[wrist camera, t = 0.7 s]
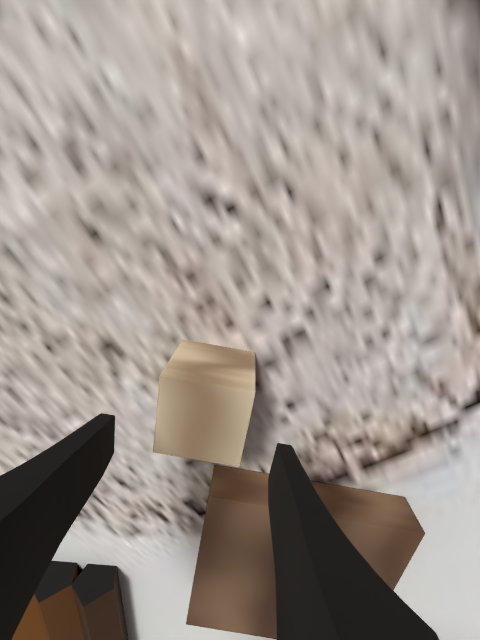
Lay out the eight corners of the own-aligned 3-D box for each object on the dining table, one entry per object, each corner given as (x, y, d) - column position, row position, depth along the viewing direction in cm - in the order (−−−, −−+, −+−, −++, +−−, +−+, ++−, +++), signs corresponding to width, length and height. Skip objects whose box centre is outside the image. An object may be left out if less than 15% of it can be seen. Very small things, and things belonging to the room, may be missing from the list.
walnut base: (405, 497, 20) (425, 533, 18) (348, 611, 25) (358, 652, 22) (214, 464, 20) (209, 496, 18) (192, 585, 24) (186, 624, 22)
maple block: (255, 351, 17) (255, 392, 13) (242, 411, 19) (239, 466, 14) (183, 339, 17) (159, 376, 13) (176, 400, 19) (152, 452, 14)
